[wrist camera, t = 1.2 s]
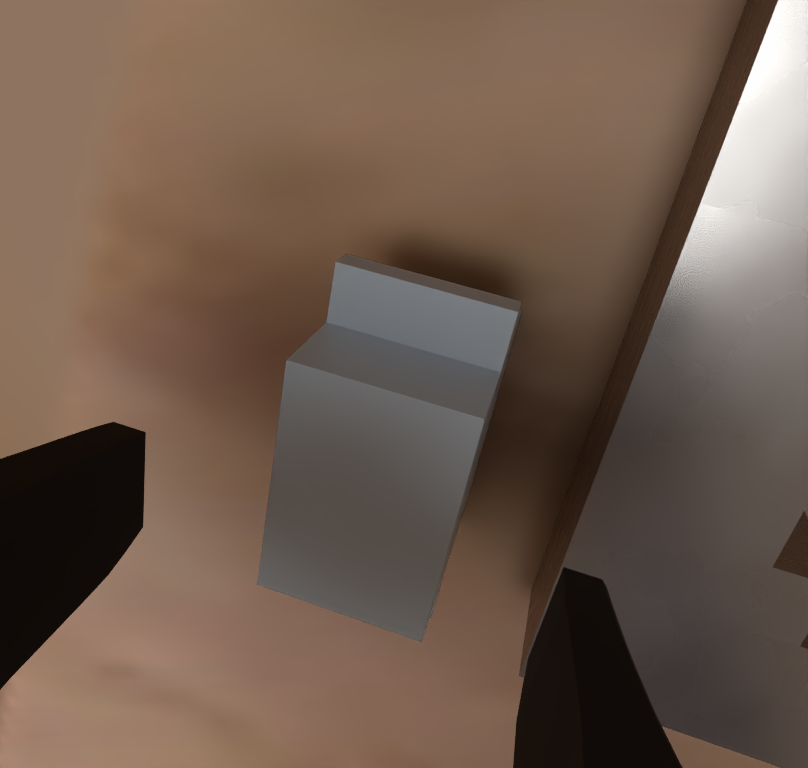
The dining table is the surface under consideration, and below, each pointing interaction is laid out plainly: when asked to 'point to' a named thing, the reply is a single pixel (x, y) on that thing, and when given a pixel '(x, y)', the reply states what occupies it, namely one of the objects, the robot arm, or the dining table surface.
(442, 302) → the block
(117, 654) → the dining table surface
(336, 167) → the dining table surface
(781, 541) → the chassis
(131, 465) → the robot arm
